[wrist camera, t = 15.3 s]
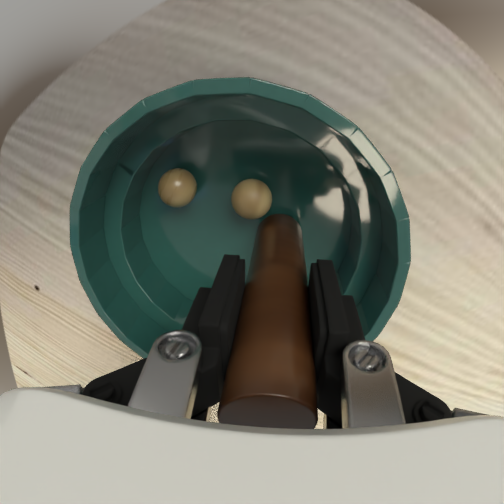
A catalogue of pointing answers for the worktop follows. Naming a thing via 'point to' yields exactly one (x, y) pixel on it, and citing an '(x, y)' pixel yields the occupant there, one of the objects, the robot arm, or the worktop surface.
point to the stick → (273, 337)
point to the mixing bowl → (220, 207)
